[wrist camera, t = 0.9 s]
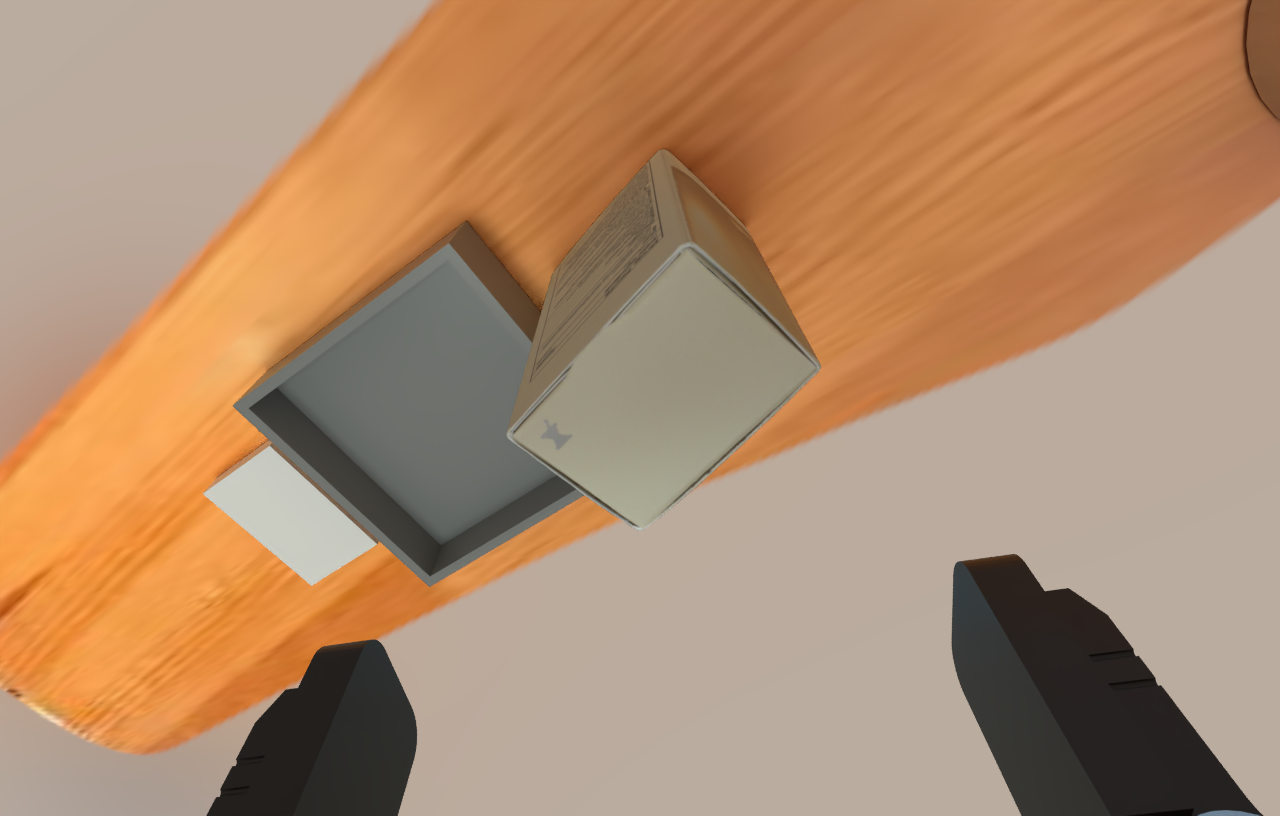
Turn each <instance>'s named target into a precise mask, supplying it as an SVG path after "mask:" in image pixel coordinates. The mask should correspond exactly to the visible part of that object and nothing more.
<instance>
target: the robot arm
mask: <svg viewBox="0 0 1280 816" xmlns="http://www.w3.org/2000/svg"><path fill="white" fill-rule="evenodd" d="M1246 47H1247V54H1248V61H1249V68H1250V75H1251V77H1252V79H1253V82H1254V84H1255V86H1256V89H1257V91H1258V93H1259V96H1260V98H1261V100H1262V101H1263V102H1264V103H1265V104H1266V106H1267V107H1268V108H1269V109H1270V110H1271V112H1272V113H1273V114H1274V115H1275V116H1276V118H1278V119H1279V120H1280V0H1252V3H1251V7H1250V10H1249V18H1248V30H1247V42H1246ZM952 614H953V615H952V653H953V659H954V664H955V668H956V672H957V676H958V679H959V682H960V685H961V688H962V690H963V692H964V695H965V697H966V699H967V701H968V703H969V705H970V707H971V709H972V711H973V714H974V716H975V718H976V720H977V722H978V724H979V726H980V728H981V731H982V733H983V735H984V737H985V739H986V741H987V743H988V745H989V748H990V749H991V752H992V754H993V756H994V758H995V760H996V762H997V764H998V766H999V769H1000V771H1001V773H1002V775H1003V777H1004V779H1005V782H1006V784H1007V786H1008V788H1009V790H1010V792H1011V794H1012V796H1013V798H1014V801H1015V803H1016V805H1017V807H1018V809H1019V811H1020V813H1021V815H1022V816H1263V815H1262V814H1261V813H1260V812H1259V811H1258V810H1257V809H1256V808H1255V807H1254V806H1253V804H1252V803H1251V802H1250V801H1249V800H1248V798H1246V796H1245V795H1244V793H1243V792H1242V791H1241V790H1240V788H1239V787H1238V785H1237V784H1236V783H1235V782H1234V780H1233V779H1232V778H1231V777H1230V775H1229V774H1228V773H1227V771H1226V770H1225V769H1224V767H1223V766H1222V764H1221V763H1220V762H1219V761H1218V759H1217V758H1216V757H1215V755H1214V754H1213V753H1212V751H1211V750H1210V749H1209V748H1208V746H1207V745H1206V744H1205V742H1204V741H1203V740H1202V738H1201V737H1200V736H1199V735H1198V733H1197V732H1196V730H1195V729H1194V728H1193V726H1192V725H1191V724H1190V723H1189V721H1188V720H1187V719H1186V717H1185V716H1184V715H1183V713H1182V712H1181V711H1180V710H1179V708H1178V707H1177V706H1176V704H1175V703H1174V702H1173V700H1172V699H1171V698H1170V696H1169V695H1168V694H1167V692H1166V691H1165V690H1164V688H1162V686H1161V685H1160V686H1158V685H1157V683H1156V680H1155V677H1154V675H1153V674H1152V673H1151V671H1150V670H1149V669H1148V668H1147V666H1146V665H1145V664H1144V662H1143V661H1142V660H1141V658H1140V657H1139V656H1135V654H1134V651H1133V648H1132V647H1131V645H1130V644H1129V643H1128V641H1127V640H1126V639H1125V637H1124V636H1123V635H1122V634H1121V632H1120V631H1119V630H1118V628H1117V627H1116V626H1115V624H1114V623H1113V622H1112V620H1111V619H1110V618H1109V616H1108V615H1107V614H1105V613H1104V612H1102V611H1101V610H1099V609H1098V608H1097V607H1095V606H1094V605H1092V604H1091V603H1089V602H1088V601H1086V600H1085V599H1084V598H1082V597H1081V596H1079V595H1078V594H1076V593H1075V592H1073V591H1072V590H1070V589H1069V588H1066V589H1059V590H1051V591H1044V590H1043V588H1042V587H1041V585H1040V584H1039V582H1038V581H1037V579H1036V578H1035V577H1034V575H1033V574H1032V572H1031V571H1030V570H1029V568H1028V566H1027V565H1026V563H1025V562H1024V561H1023V560H1022V559H1021V558H1020V557H1019V556H1018V555H1015V554H1011V555H1003V556H996V557H989V558H982V559H975V560H967V561H959V562H957V563H956V564H955V567H954V574H953V610H952ZM416 745H417V727H416V720H415V716H414V712H413V709H412V707H411V705H410V703H409V700H408V698H407V696H406V694H405V692H404V690H403V687H402V686H401V683H400V681H399V679H398V677H397V674H396V672H395V670H394V668H393V666H392V664H391V661H390V659H389V657H388V655H387V653H386V650H385V649H384V647H383V645H382V644H381V643H380V642H379V641H378V640H366V641H359V642H352V643H344V644H337V645H330V646H324V647H321V648H320V649H319V650H318V651H317V652H316V653H315V655H314V657H313V658H312V660H311V663H310V665H309V667H308V669H307V671H306V673H305V675H304V677H303V679H302V681H301V683H300V685H299V687H298V688H295V689H287V690H285V691H284V692H283V693H282V694H281V695H280V696H279V697H278V699H277V700H276V701H275V702H274V703H273V704H272V705H271V706H270V707H269V708H268V710H267V711H266V712H265V713H264V714H263V715H262V716H261V717H260V718H259V719H258V720H257V721H256V723H255V724H254V726H253V728H252V730H251V732H250V734H249V736H248V737H247V739H246V741H245V744H244V745H243V747H242V749H241V751H240V753H239V755H238V757H237V758H236V760H237V764H236V766H233V767H232V768H231V770H230V772H229V774H228V776H227V778H226V779H225V781H224V783H223V785H222V787H221V789H220V790H221V795H220V797H216V799H215V801H214V802H213V804H212V806H211V808H210V810H209V812H208V814H207V816H398V813H399V809H400V806H401V802H402V799H403V795H404V792H405V788H406V785H407V781H408V778H409V774H410V771H411V768H412V764H413V761H414V757H415V752H416Z"/></svg>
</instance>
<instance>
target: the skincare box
mask: <svg viewBox="0 0 1280 816" xmlns="http://www.w3.org/2000/svg"><path fill="white" fill-rule="evenodd" d="M820 369H821V365H820V363H819V360H818V359H817V357H816V355H815V353H814V351H813V350H812V348H811V346H810V344H809V342H808V341H807V339H806V337H805V335H804V333H803V332H802V330H801V328H800V326H799V324H798V322H797V320H796V318H795V316H794V315H793V313H792V311H791V309H790V307H789V305H788V304H787V302H786V300H785V298H784V296H783V294H782V292H781V291H780V289H779V287H778V285H777V283H776V281H775V280H774V277H773V276H772V274H771V272H770V270H769V268H768V266H767V265H766V263H765V261H764V259H763V257H762V256H761V254H760V252H759V250H758V248H757V247H756V245H755V243H754V241H753V239H752V237H751V235H750V233H749V231H748V230H747V228H746V227H745V225H744V224H743V223H742V222H741V221H740V220H739V219H738V218H737V217H736V216H735V215H734V214H733V213H732V212H731V211H730V210H729V209H728V208H727V207H726V206H725V205H724V204H723V203H722V202H721V201H720V200H719V199H718V198H717V197H716V196H715V195H714V194H713V193H712V192H711V191H710V190H709V189H708V188H707V187H706V186H705V185H704V184H703V183H702V182H701V181H700V180H699V179H698V178H697V177H696V176H695V175H694V174H693V173H692V172H691V171H690V170H689V169H687V168H686V167H685V166H684V165H683V164H682V163H681V162H680V161H679V160H678V159H677V158H676V157H675V156H674V155H673V154H672V153H670V152H669V151H668V150H665V149H661V150H659V151H658V152H657V153H656V154H655V155H654V156H653V157H652V158H651V159H650V160H649V161H648V162H647V163H646V164H645V165H644V166H643V167H642V169H641V170H640V171H639V172H638V173H637V174H636V175H635V176H634V177H633V178H632V180H631V181H630V182H629V183H628V184H627V185H626V186H625V187H624V188H623V190H622V191H621V192H620V193H619V194H618V195H617V196H616V197H615V199H614V200H613V201H612V202H611V203H610V204H609V205H608V207H607V208H606V209H605V210H604V211H603V213H602V214H601V215H600V216H599V217H598V218H597V220H596V221H595V222H594V223H593V224H592V225H591V226H590V228H589V229H588V230H587V231H586V232H585V234H584V235H583V236H582V237H581V238H580V240H579V241H578V242H577V243H576V244H575V246H574V247H573V248H572V249H571V251H570V252H569V253H568V254H567V256H566V257H565V258H564V259H563V261H562V262H561V263H560V264H559V265H558V267H557V268H556V269H555V271H554V272H553V274H552V276H551V280H550V283H549V287H548V290H547V294H546V298H545V301H544V305H543V308H542V312H541V315H540V318H539V322H538V325H537V329H536V332H535V336H534V339H533V343H532V346H531V350H530V353H529V356H528V360H527V363H526V366H525V370H524V374H523V377H522V380H521V384H520V387H519V391H518V395H517V398H516V402H515V405H514V408H513V412H512V415H511V419H510V423H509V426H508V429H507V433H506V434H507V438H508V439H509V440H510V441H512V442H513V443H515V444H516V445H517V446H519V447H520V448H521V449H523V450H525V451H526V452H527V453H529V454H530V455H531V456H532V457H533V458H535V459H536V460H537V461H539V462H540V463H542V464H543V465H544V466H546V467H547V468H549V469H550V470H551V471H552V472H554V473H555V474H556V475H558V476H559V477H560V478H562V479H563V480H565V481H566V482H568V483H569V484H570V485H572V486H573V487H574V488H576V489H577V490H578V491H580V492H581V493H582V494H584V495H585V496H587V497H588V498H589V499H591V500H592V501H594V502H595V503H596V504H598V505H599V506H601V507H602V508H604V509H605V510H607V511H608V512H610V513H611V514H613V515H614V516H616V517H618V518H620V519H621V520H622V521H624V522H625V523H627V524H628V525H630V526H631V527H633V528H634V529H636V530H638V531H642V530H644V529H646V528H648V527H649V526H650V525H651V524H653V523H654V522H655V521H656V520H657V519H659V518H660V517H662V516H663V515H664V514H665V513H666V512H667V511H668V510H670V509H671V508H672V507H673V506H675V505H676V504H677V503H678V502H679V501H681V500H682V499H683V498H684V497H685V496H687V495H688V494H689V493H690V492H691V491H692V490H693V489H694V488H696V487H697V486H698V485H699V484H700V483H701V482H702V481H703V480H705V479H706V478H707V477H708V476H709V475H710V474H711V473H712V472H713V471H714V470H715V469H716V468H718V467H719V466H720V465H721V464H722V463H723V462H724V461H725V460H726V459H728V458H729V457H730V456H731V455H732V454H733V453H734V452H735V451H736V450H737V449H738V448H739V447H741V446H742V445H743V444H744V443H745V442H746V441H747V440H748V439H749V438H750V437H751V436H752V435H753V434H754V433H756V432H757V431H758V430H759V429H760V428H761V427H762V426H763V425H764V424H765V423H766V422H767V421H768V420H769V419H770V418H771V417H773V416H774V415H775V414H776V413H777V412H778V411H779V410H780V409H781V408H782V407H783V406H784V405H785V404H786V403H787V402H788V401H789V400H790V399H791V398H792V397H793V396H794V395H795V394H796V393H797V392H798V391H799V390H800V389H801V388H802V387H803V386H804V385H805V384H806V383H807V382H808V381H809V380H810V379H811V378H812V377H813V376H814V375H816V374H817V373H818V372H819V370H820Z"/></svg>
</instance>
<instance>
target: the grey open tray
mask: <svg viewBox="0 0 1280 816" xmlns="http://www.w3.org/2000/svg"><path fill="white" fill-rule="evenodd" d="M540 315H541V312H540V311H539V309H538V308H537V307H536V306H535V304H534V303H533V302H532V301H531V299H530V298H529V297H528V296H527V295H526V293H525V292H524V291H523V290H522V288H521V287H520V286H519V285H518V283H517V282H516V281H515V280H514V279H513V277H512V276H511V275H510V274H509V272H508V271H507V270H506V269H505V267H504V266H503V265H502V264H501V263H500V261H499V260H498V259H497V258H496V256H495V255H494V254H493V253H492V251H491V250H490V249H489V248H488V247H487V245H486V244H485V243H484V242H483V240H482V239H481V238H480V237H479V236H478V234H477V233H476V232H475V231H474V229H473V228H472V227H471V226H470V224H469V223H468V222H467V221H465V222H464V223H462V224H461V225H460V226H458V227H457V228H456V229H454V230H453V231H452V232H450V233H449V234H448V235H446V236H445V237H444V238H442V239H441V240H440V241H438V242H437V243H436V244H435V245H433V246H432V247H431V248H429V249H428V250H427V251H425V252H424V253H423V254H421V255H420V256H419V257H417V258H416V259H415V260H413V261H412V262H411V263H409V264H408V265H407V266H405V267H404V268H403V269H401V270H400V271H399V272H398V273H396V274H395V275H394V276H392V277H391V278H390V279H388V280H387V281H386V282H384V283H383V284H382V285H380V286H379V287H378V288H376V289H375V290H374V291H372V292H371V293H370V294H368V295H367V296H366V297H364V298H363V299H362V300H360V301H359V302H358V303H357V304H355V305H354V306H353V307H351V308H350V309H349V310H347V311H346V312H345V313H343V314H342V315H341V316H339V317H338V318H337V319H335V320H334V321H333V322H331V323H330V324H329V325H327V326H326V327H325V328H323V329H322V330H321V331H320V332H318V333H317V334H316V335H314V336H313V337H312V338H310V339H309V340H308V341H306V342H305V343H304V344H302V345H301V346H300V347H298V348H297V349H296V350H294V351H293V352H292V353H290V354H289V355H288V356H286V357H285V358H284V359H282V360H281V361H280V362H279V363H277V364H276V365H275V366H273V367H272V368H271V369H269V370H268V371H267V372H265V373H264V374H263V376H262V377H261V378H260V379H259V380H258V381H257V382H256V383H255V384H254V385H253V386H252V387H251V388H250V389H249V390H248V391H247V392H246V393H245V394H244V395H243V396H242V397H241V398H240V399H239V400H238V401H237V402H236V403H235V404H234V405H233V407H234V408H235V409H236V410H237V411H238V412H240V413H241V414H242V415H243V416H244V417H245V418H246V419H247V420H248V421H249V422H250V423H252V424H253V425H254V426H255V427H256V428H257V429H258V430H259V431H260V432H261V433H262V434H263V435H265V436H266V437H267V438H268V439H269V440H268V441H267V442H266V443H264V444H263V445H261V446H260V447H259V448H257V449H256V450H254V451H253V452H252V453H250V454H249V455H248V456H246V457H245V458H243V459H242V460H241V461H239V462H238V463H236V464H235V465H234V466H232V467H231V468H229V469H228V470H227V471H225V472H224V473H222V474H221V475H220V476H218V477H217V478H216V479H215V480H214V481H213V483H212V484H211V485H210V486H209V487H208V488H207V489H206V491H205V492H204V493H203V494H204V495H205V496H206V497H207V498H208V499H210V500H211V501H212V502H213V503H214V504H215V505H217V506H218V507H219V508H220V509H221V510H223V511H224V512H225V513H226V514H227V515H228V516H230V517H231V518H232V519H233V520H234V521H236V522H237V523H238V524H239V525H240V526H241V527H243V528H244V529H245V530H246V531H247V532H249V533H250V534H251V535H252V536H253V537H255V538H256V539H257V540H258V541H259V542H260V543H262V544H263V545H264V546H265V547H266V548H268V549H269V550H270V551H271V552H272V553H273V554H275V555H276V556H277V557H278V558H279V559H281V560H282V561H283V562H284V563H285V564H286V565H288V566H289V567H290V568H291V569H292V570H294V571H295V572H296V573H297V574H298V575H299V576H301V577H302V578H303V579H304V580H305V581H307V582H308V583H309V584H310V585H311V586H312V585H313V584H315V583H317V582H318V581H320V580H321V579H323V578H325V577H326V576H328V575H329V574H331V573H332V572H334V571H336V570H337V569H339V568H340V567H342V566H344V565H345V564H347V563H348V562H350V561H352V560H353V559H355V558H356V557H358V556H360V555H361V554H363V553H364V552H366V551H367V550H369V549H371V548H372V547H374V546H375V545H377V544H378V542H379V541H380V542H381V543H382V544H383V545H384V546H385V547H386V548H388V549H389V550H390V551H391V552H392V553H393V554H394V555H395V556H396V557H397V558H398V559H400V560H401V561H402V562H403V563H404V564H405V565H406V566H407V567H408V568H409V569H410V570H411V571H413V572H414V573H415V574H416V575H417V576H418V577H419V578H420V579H421V580H422V581H423V582H425V583H426V584H427V585H428V586H429V587H430V586H432V585H434V584H435V583H437V582H439V581H440V580H442V579H444V578H445V577H447V576H449V575H451V574H452V573H454V572H456V571H457V570H459V569H461V568H462V567H464V566H466V565H467V564H469V563H471V562H472V561H474V560H476V559H478V558H479V557H481V556H483V555H484V554H486V553H488V552H489V551H491V550H493V549H494V548H496V547H498V546H500V545H501V544H503V543H505V542H506V541H508V540H510V539H511V538H513V537H515V536H516V535H518V534H520V533H522V532H523V531H525V530H527V529H528V528H530V527H532V526H533V525H535V524H537V523H538V522H540V521H542V520H543V519H545V518H547V517H549V516H550V515H552V514H554V513H555V512H557V511H559V510H560V509H562V508H564V507H565V506H567V505H569V504H571V503H572V502H574V501H576V500H577V499H579V498H581V497H582V496H584V494H582V493H581V492H580V491H578V490H577V489H576V488H574V487H573V486H572V485H570V484H569V483H568V482H566V481H565V480H563V479H562V478H560V477H559V476H558V475H556V474H555V473H554V472H552V471H551V470H550V469H549V468H547V467H546V466H544V465H543V464H542V463H540V462H539V461H537V460H536V459H535V458H533V457H532V456H531V455H530V454H529V453H527V452H526V451H525V450H523V449H521V448H520V447H519V446H517V445H516V444H515V443H513V442H512V441H510V440H509V439H508V438H507V434H506V433H507V429H508V426H509V423H510V419H511V415H512V412H513V408H514V405H515V402H516V398H517V395H518V391H519V387H520V384H521V380H522V377H523V374H524V370H525V366H526V363H527V360H528V356H529V353H530V350H531V346H532V343H533V339H534V336H535V332H536V329H537V325H538V322H539V318H540Z"/></svg>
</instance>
